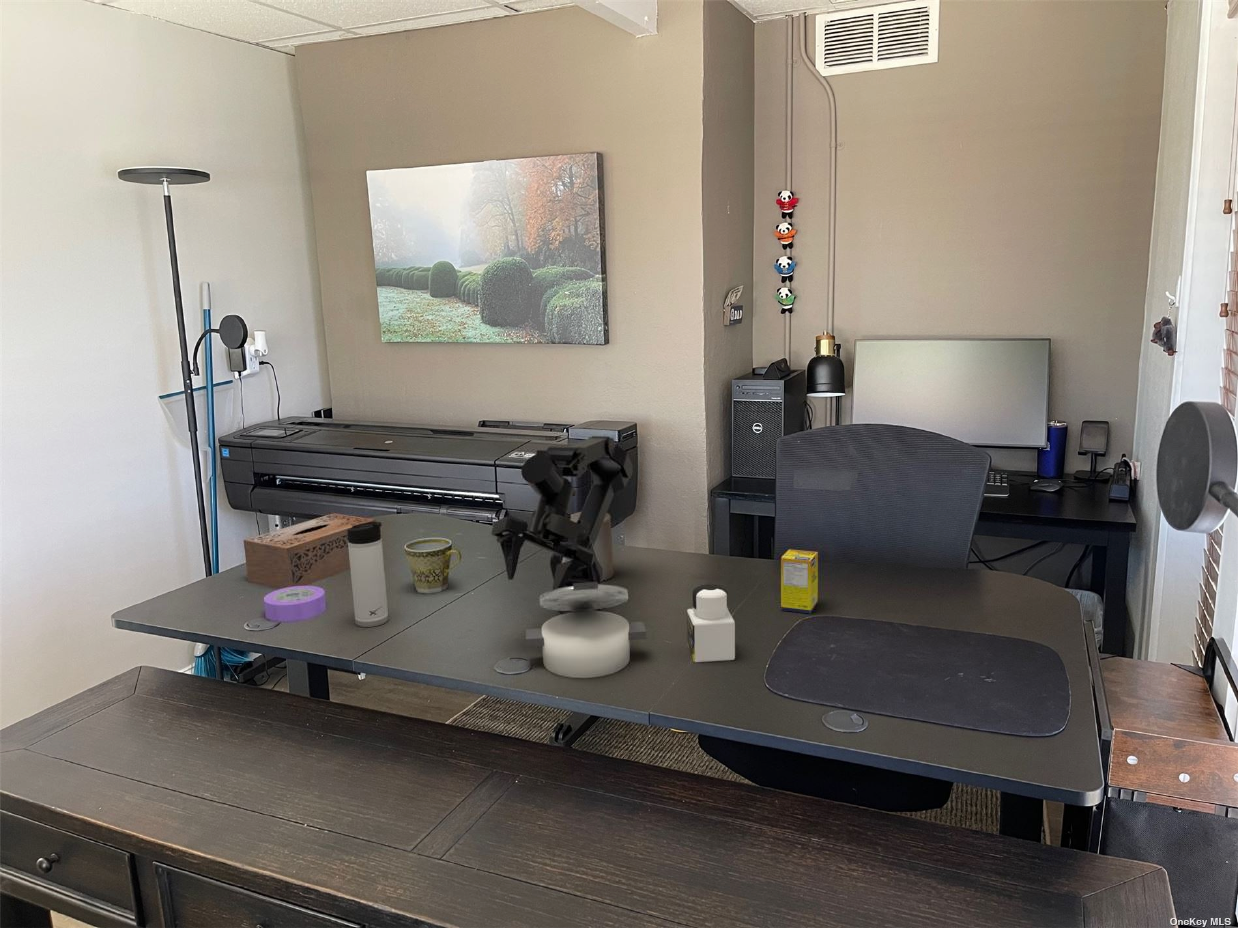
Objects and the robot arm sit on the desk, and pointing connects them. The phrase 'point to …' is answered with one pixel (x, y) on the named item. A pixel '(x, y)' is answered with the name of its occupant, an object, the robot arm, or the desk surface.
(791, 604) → the supplement box
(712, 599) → the medicine bottle
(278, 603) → the masking tape
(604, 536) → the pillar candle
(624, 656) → the cooker body
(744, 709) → the desk surface
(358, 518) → the tissue box cover
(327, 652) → the desk surface
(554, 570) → the robot arm
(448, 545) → the ceramic cup
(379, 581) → the travel mug
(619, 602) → the cooker lid
